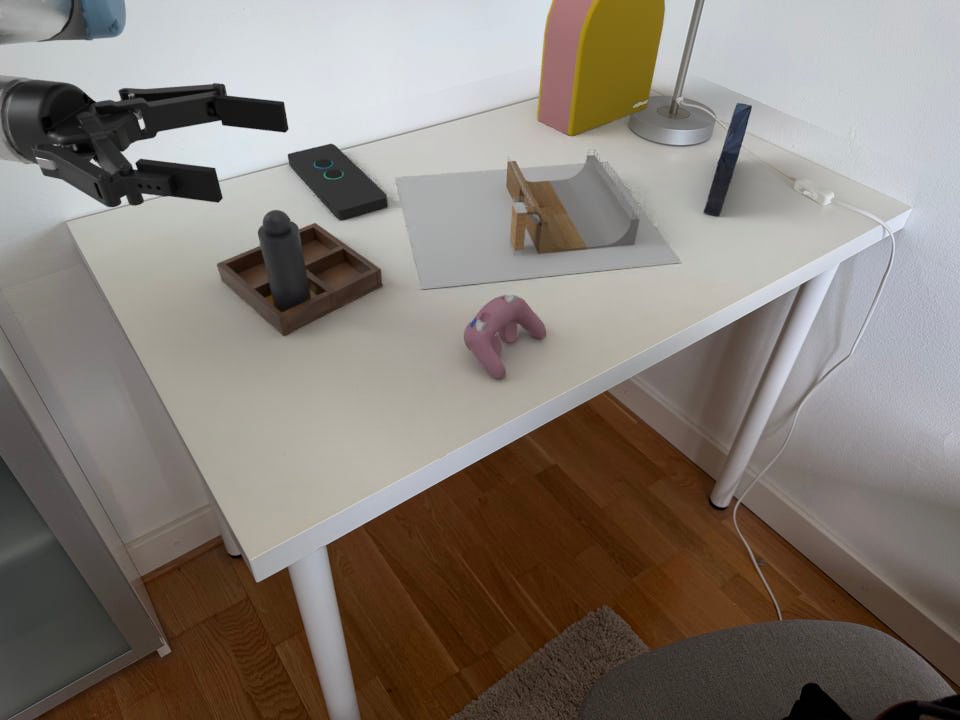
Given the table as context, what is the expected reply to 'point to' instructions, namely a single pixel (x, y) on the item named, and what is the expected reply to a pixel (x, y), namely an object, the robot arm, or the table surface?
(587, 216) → the skate ramp
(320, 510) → the table surface
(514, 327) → the video game controller
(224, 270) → the grid
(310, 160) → the smart home device
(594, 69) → the yellow and pink slab
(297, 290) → the pawn
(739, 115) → the vhs cassette tape
